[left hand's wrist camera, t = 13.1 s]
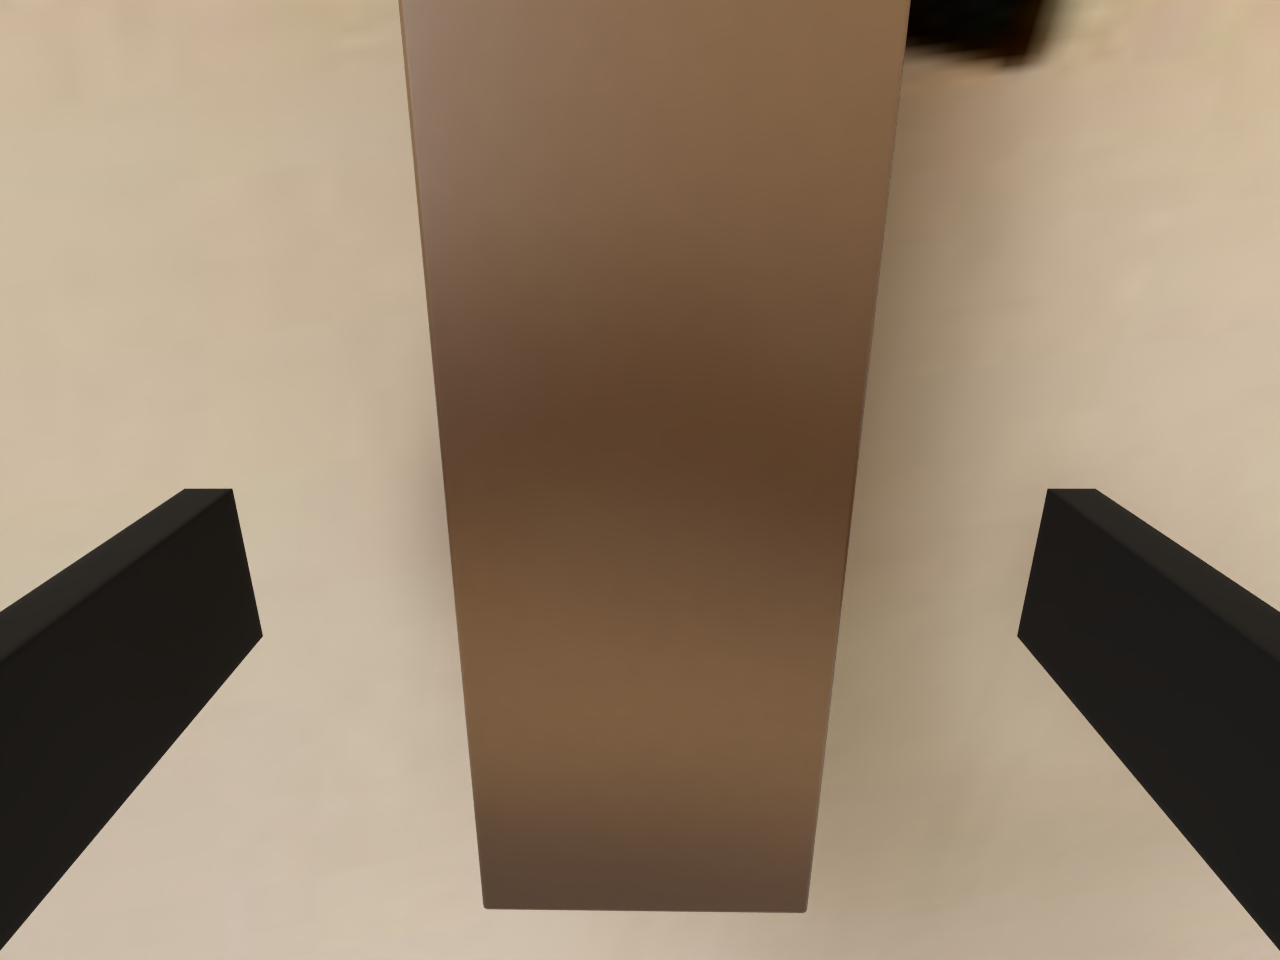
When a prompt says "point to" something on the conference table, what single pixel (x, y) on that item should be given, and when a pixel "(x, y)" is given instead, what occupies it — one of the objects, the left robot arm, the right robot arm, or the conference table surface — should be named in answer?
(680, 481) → the bar
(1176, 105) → the conference table surface
